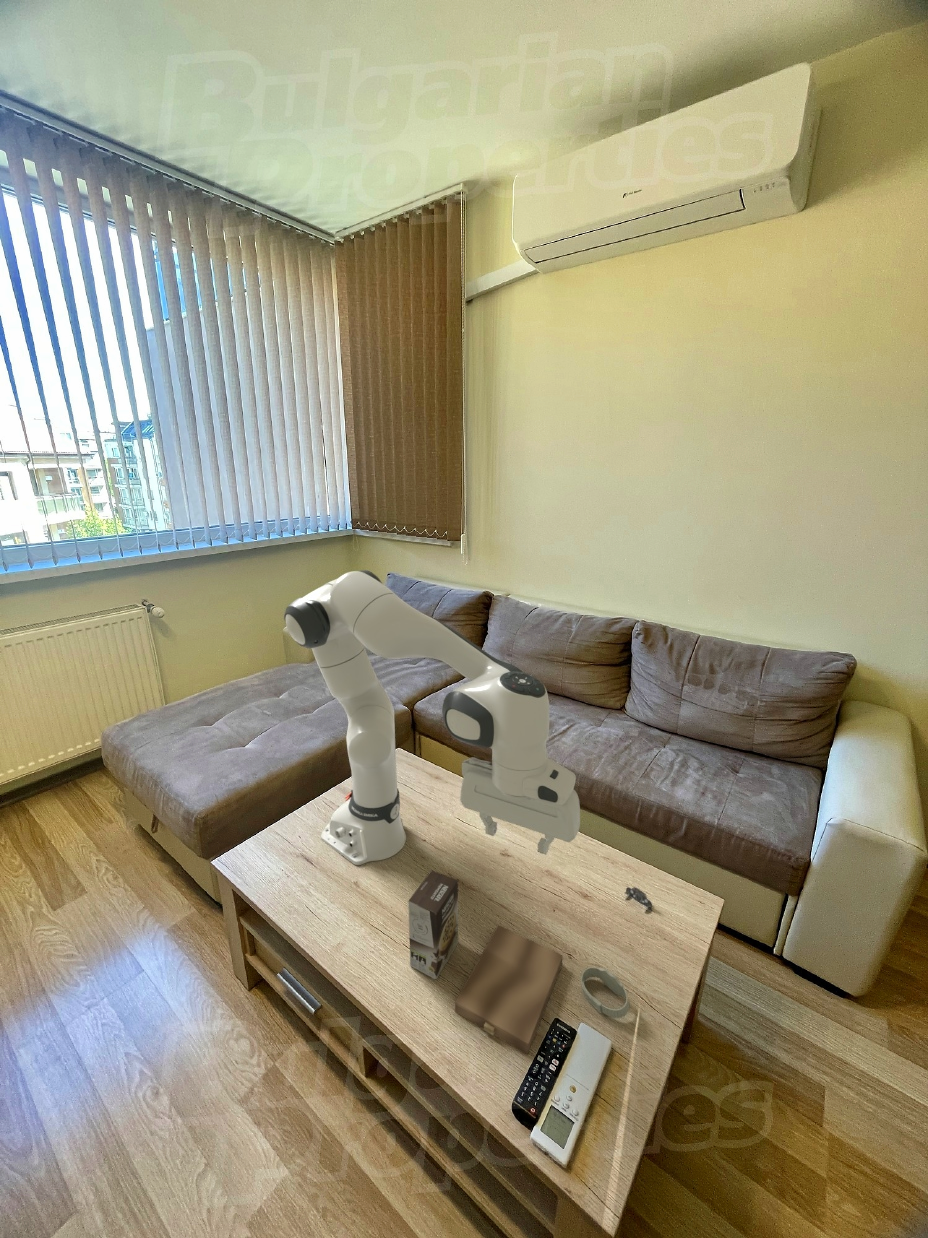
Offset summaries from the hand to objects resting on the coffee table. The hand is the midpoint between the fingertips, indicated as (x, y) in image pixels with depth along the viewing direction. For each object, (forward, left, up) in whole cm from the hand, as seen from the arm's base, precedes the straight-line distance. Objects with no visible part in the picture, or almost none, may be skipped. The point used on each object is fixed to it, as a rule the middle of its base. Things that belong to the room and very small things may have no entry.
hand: (516, 841), depth 84 cm
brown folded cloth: (0, 0, -34) cm, 34 cm away
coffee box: (-16, -1, -33) cm, 37 cm away
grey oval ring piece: (+16, +6, -34) cm, 38 cm away
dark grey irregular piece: (+22, +29, -34) cm, 50 cm away
